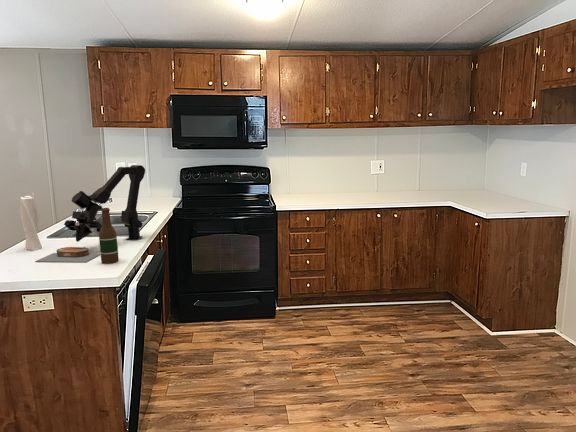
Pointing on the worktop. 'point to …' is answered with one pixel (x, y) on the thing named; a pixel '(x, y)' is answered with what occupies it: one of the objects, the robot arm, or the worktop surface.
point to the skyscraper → (30, 222)
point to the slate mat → (69, 258)
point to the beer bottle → (108, 239)
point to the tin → (72, 251)
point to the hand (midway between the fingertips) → (77, 241)
